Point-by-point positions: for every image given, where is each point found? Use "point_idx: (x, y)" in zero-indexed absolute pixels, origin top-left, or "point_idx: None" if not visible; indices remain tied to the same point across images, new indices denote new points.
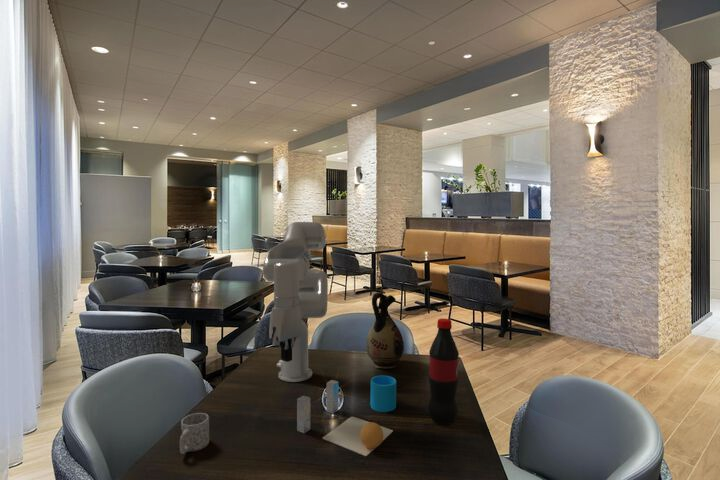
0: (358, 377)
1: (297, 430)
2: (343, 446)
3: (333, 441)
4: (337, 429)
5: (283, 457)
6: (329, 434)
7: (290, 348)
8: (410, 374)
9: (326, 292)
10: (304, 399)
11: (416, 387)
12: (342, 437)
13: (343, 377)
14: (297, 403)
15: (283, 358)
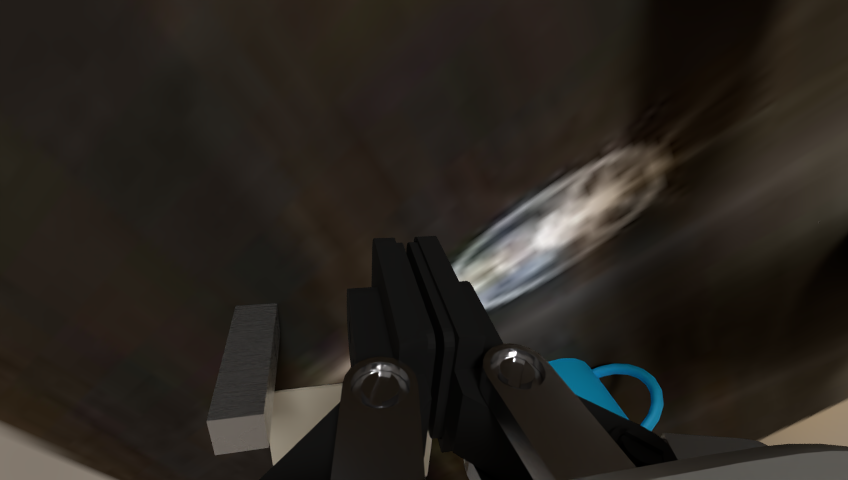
0: (760, 206)
1: (236, 308)
2: (271, 453)
3: (271, 425)
4: (338, 393)
5: (71, 384)
6: (296, 395)
7: (443, 442)
8: (799, 332)
9: None
10: (231, 444)
11: (700, 389)
12: (308, 427)
13: (754, 149)
14: (211, 402)
15: (347, 317)
